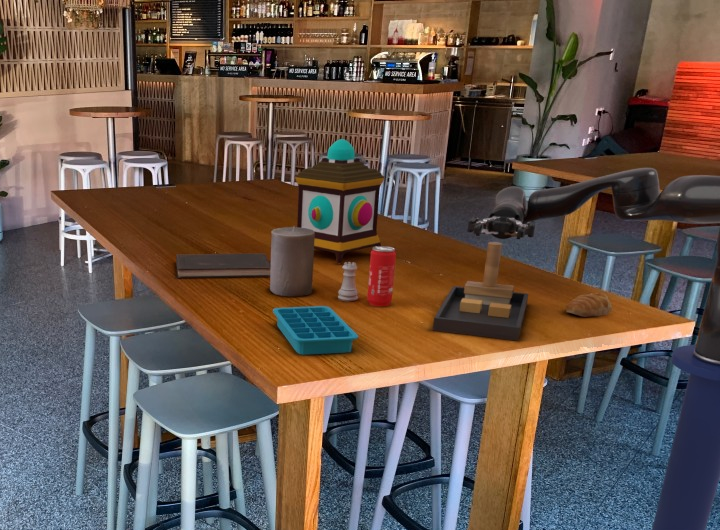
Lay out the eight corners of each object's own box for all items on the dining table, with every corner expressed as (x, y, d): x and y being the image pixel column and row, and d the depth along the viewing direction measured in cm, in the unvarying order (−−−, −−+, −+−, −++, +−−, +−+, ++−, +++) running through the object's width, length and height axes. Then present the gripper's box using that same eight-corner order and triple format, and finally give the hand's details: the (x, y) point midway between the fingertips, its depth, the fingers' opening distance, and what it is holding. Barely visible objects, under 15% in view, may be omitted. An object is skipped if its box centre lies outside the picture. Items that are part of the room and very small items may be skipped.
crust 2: (489, 311, 163) (490, 302, 162) (510, 314, 161) (511, 304, 160) (487, 315, 160) (489, 306, 159) (508, 318, 159) (510, 308, 158)
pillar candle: (319, 289, 181) (323, 224, 175) (299, 299, 174) (302, 231, 168) (282, 283, 186) (284, 219, 180) (261, 292, 179) (263, 226, 173)
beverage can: (380, 308, 167) (385, 252, 162) (361, 303, 171) (366, 248, 166) (396, 304, 170) (401, 249, 165) (377, 299, 174) (381, 244, 169)
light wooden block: (461, 307, 166) (462, 298, 165) (481, 309, 164) (482, 300, 163) (459, 311, 163) (460, 301, 162) (479, 313, 162) (480, 304, 161)
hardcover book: (272, 276, 192) (272, 267, 191) (177, 278, 191) (177, 268, 190) (264, 261, 207) (264, 252, 206) (176, 262, 206) (176, 254, 205)
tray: (451, 297, 175) (452, 285, 174) (526, 305, 169) (528, 293, 168) (432, 330, 153) (434, 317, 152) (518, 341, 147) (520, 327, 146)
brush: (465, 297, 172) (472, 239, 167) (511, 302, 169) (520, 243, 164) (462, 302, 169) (469, 243, 164) (510, 307, 165) (519, 247, 160)
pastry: (585, 320, 159) (588, 302, 157) (555, 312, 164) (558, 294, 163) (613, 313, 163) (616, 295, 162) (584, 305, 169) (587, 288, 167)
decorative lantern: (283, 253, 215) (286, 138, 204) (330, 243, 227) (336, 134, 216) (340, 266, 201) (347, 144, 190) (387, 255, 213) (397, 139, 202)
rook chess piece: (362, 300, 173) (364, 264, 170) (346, 303, 171) (348, 266, 168) (349, 295, 177) (351, 260, 174) (333, 298, 174) (335, 262, 171)
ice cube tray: (295, 356, 140) (296, 340, 138) (270, 322, 158) (271, 308, 157) (359, 353, 141) (360, 337, 140) (327, 320, 160) (328, 305, 158)
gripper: (535, 238, 186) (529, 253, 172) (472, 232, 191) (462, 246, 178) (540, 205, 183) (535, 218, 169) (476, 201, 189) (466, 213, 175)
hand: (498, 233), depth 174 cm, fingers open, 8 cm apart
